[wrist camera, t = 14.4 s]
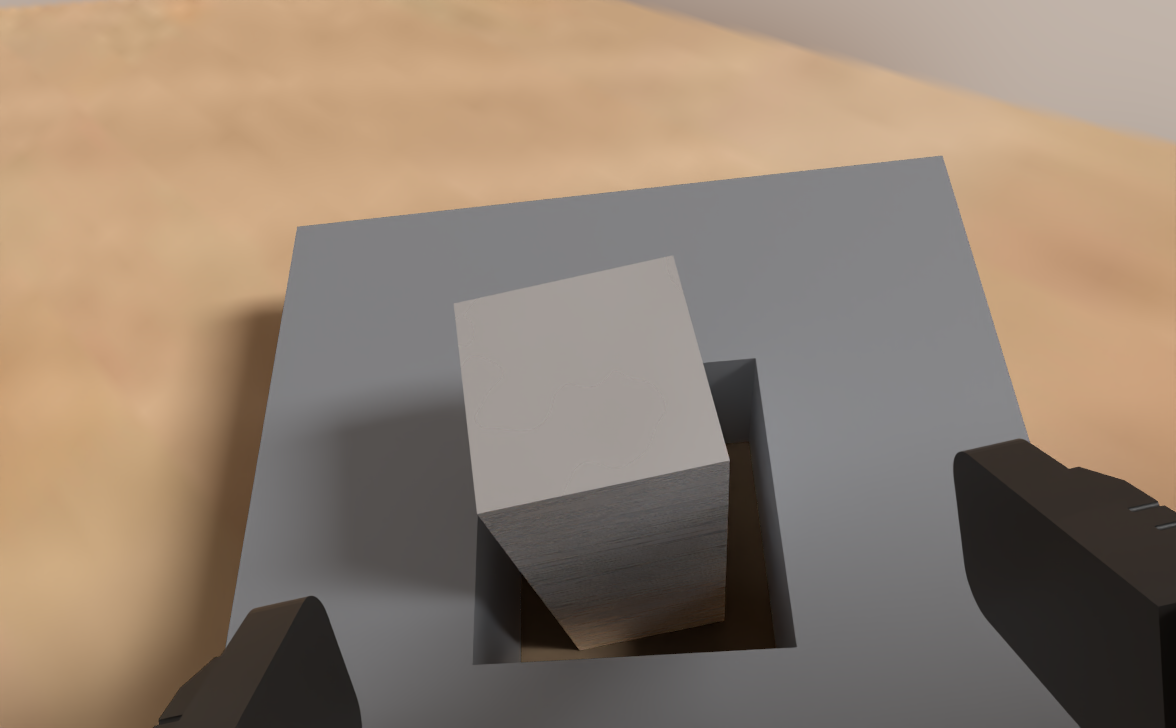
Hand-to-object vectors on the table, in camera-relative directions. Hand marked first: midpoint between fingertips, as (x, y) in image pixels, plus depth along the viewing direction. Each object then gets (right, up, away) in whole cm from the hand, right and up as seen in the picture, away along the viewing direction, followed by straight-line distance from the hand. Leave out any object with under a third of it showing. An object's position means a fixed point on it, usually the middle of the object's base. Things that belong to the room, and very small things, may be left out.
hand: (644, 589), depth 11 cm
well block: (+1, -2, +10) cm, 11 cm away
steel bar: (+1, -2, +10) cm, 11 cm away
